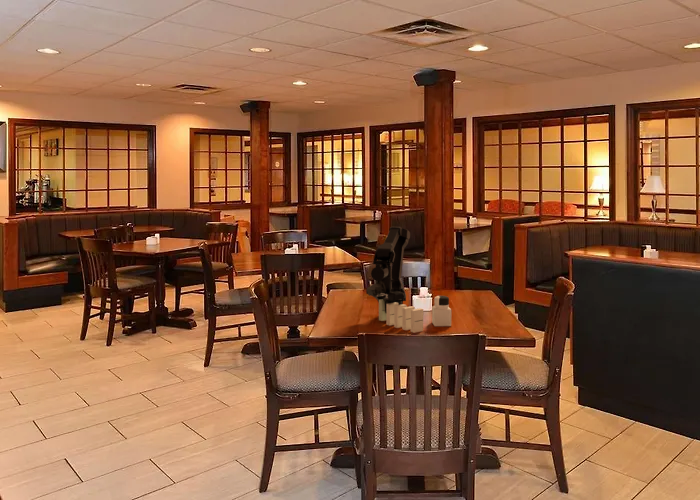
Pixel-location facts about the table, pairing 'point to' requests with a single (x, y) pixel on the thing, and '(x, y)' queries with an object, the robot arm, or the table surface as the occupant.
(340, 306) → the table surface
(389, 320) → the domino
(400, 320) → the domino
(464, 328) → the table surface
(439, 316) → the medicine bottle
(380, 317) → the sage domino
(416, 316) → the domino
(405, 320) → the domino
